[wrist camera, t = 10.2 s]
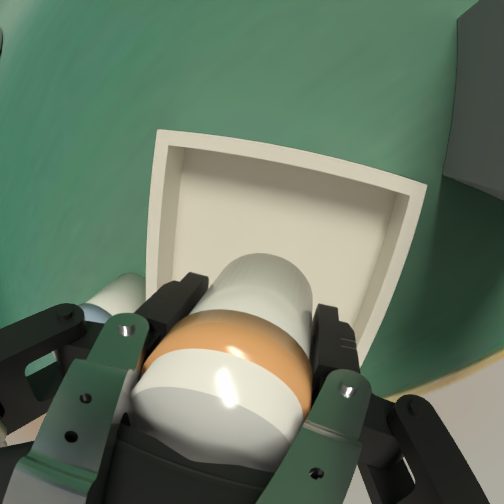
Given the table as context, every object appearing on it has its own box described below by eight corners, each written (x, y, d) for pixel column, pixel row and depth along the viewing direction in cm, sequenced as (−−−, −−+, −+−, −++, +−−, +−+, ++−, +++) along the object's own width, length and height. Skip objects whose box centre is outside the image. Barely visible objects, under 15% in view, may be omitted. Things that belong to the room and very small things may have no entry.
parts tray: (163, 323, 19) (146, 344, 17) (179, 131, 15) (157, 129, 12) (343, 369, 18) (345, 395, 15) (410, 179, 13) (427, 184, 11)
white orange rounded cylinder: (207, 329, 13) (131, 452, 6) (218, 238, 11) (106, 345, 5) (301, 353, 12) (278, 498, 6) (329, 263, 11) (337, 413, 4)
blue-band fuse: (111, 312, 20) (54, 368, 14) (112, 262, 18) (41, 312, 12) (161, 334, 20) (111, 402, 13) (167, 284, 18) (105, 350, 12)
